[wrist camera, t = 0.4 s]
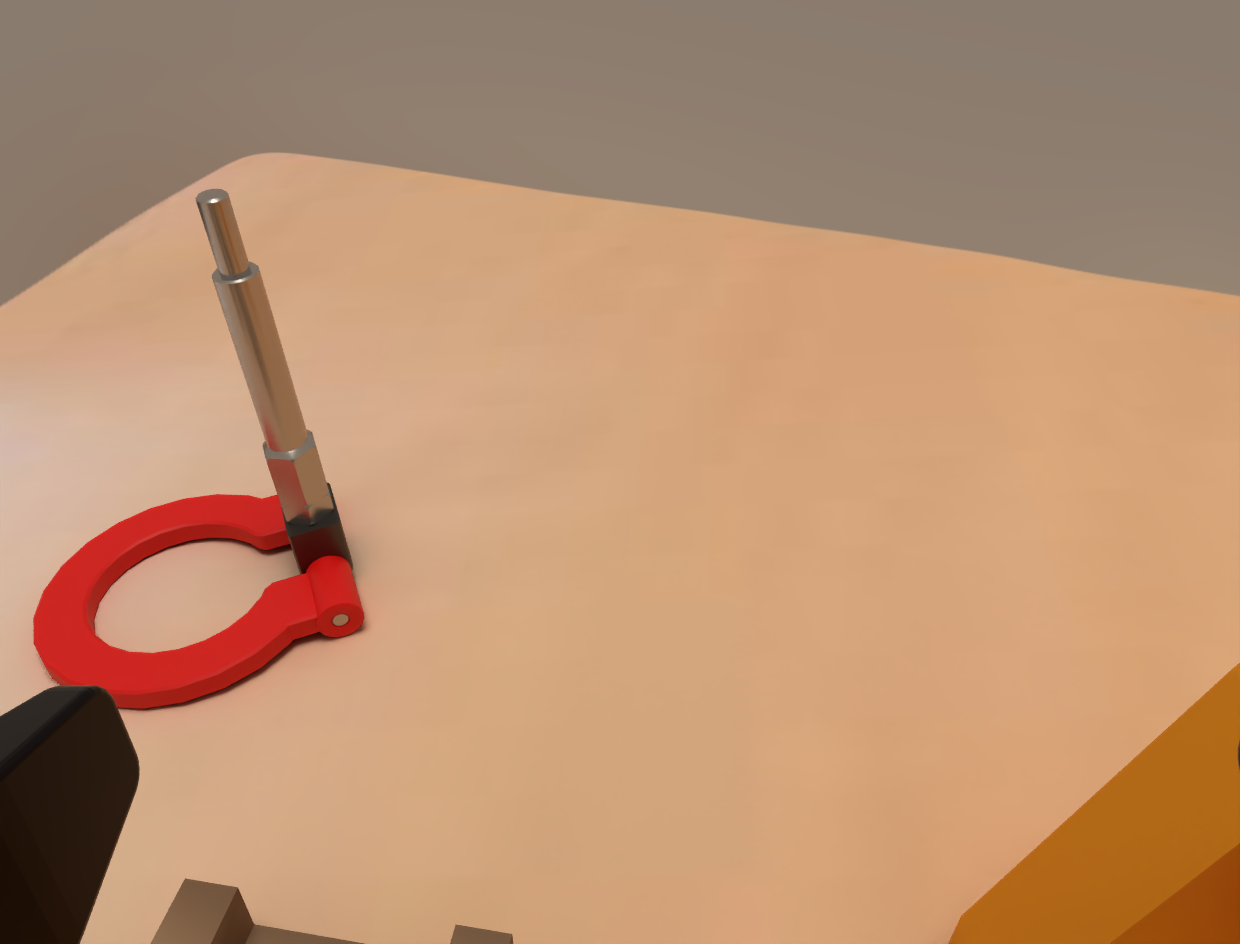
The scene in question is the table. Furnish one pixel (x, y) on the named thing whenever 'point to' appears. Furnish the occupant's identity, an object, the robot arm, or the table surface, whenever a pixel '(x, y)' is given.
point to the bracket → (1137, 849)
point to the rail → (228, 939)
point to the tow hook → (217, 530)
